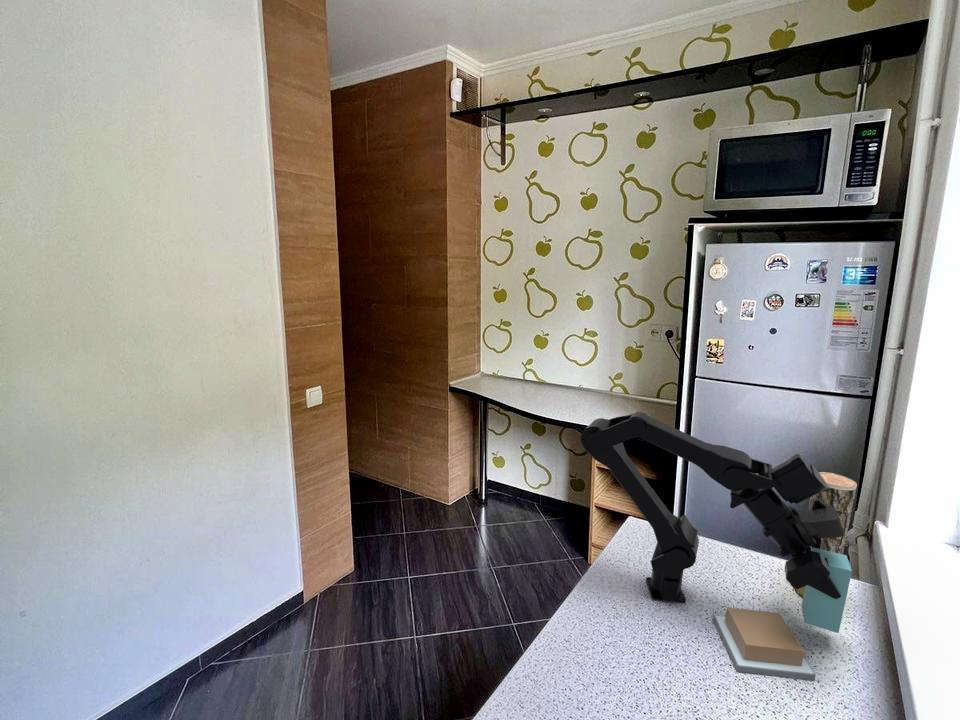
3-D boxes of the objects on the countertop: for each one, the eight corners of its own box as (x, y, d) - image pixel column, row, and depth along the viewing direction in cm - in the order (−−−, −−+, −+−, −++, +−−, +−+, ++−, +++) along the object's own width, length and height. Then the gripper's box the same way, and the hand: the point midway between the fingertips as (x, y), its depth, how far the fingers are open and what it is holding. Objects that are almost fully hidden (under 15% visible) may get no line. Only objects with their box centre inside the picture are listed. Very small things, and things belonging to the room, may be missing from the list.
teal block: (804, 623, 89) (816, 562, 86) (801, 605, 93) (812, 547, 91) (838, 633, 87) (852, 570, 84) (833, 615, 91) (846, 555, 88)
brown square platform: (712, 619, 95) (715, 600, 94) (780, 626, 93) (784, 607, 92) (736, 671, 83) (740, 650, 82) (814, 680, 82) (819, 659, 81)
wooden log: (832, 610, 98) (856, 491, 93) (791, 595, 102) (812, 480, 97) (834, 592, 103) (857, 479, 98) (795, 578, 107) (815, 469, 102)
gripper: (824, 517, 78) (898, 603, 76) (809, 472, 95) (870, 541, 92) (758, 548, 84) (826, 629, 81) (755, 500, 100) (811, 567, 97)
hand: (835, 588), depth 88 cm, fingers closed on teal block, 5 cm apart
